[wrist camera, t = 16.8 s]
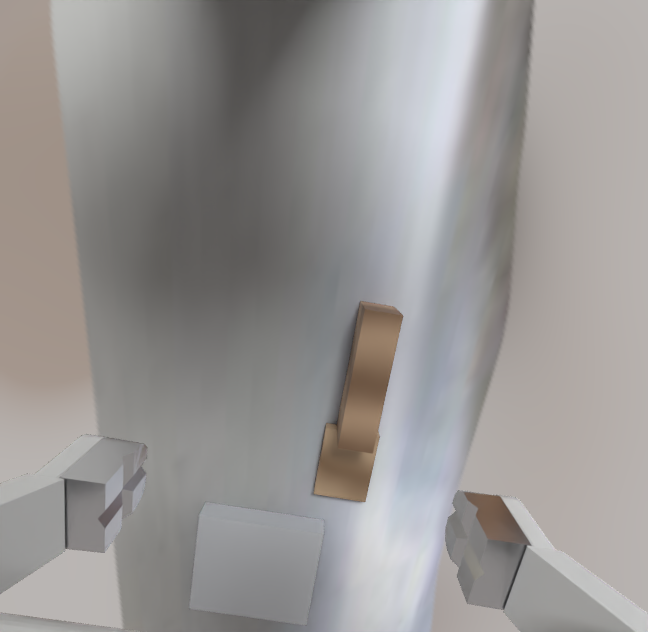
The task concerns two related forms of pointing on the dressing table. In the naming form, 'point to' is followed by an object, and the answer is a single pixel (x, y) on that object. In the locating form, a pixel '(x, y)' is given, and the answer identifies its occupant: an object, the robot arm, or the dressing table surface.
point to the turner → (360, 406)
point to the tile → (255, 563)
